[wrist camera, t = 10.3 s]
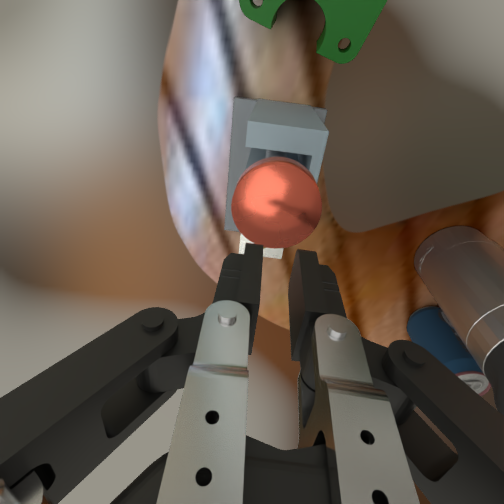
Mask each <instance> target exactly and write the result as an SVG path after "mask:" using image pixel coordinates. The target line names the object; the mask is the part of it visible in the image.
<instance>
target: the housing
mask: <svg viewBox="0 0 504 504" xmlns="http://www.w3.org/2000/svg"><path fill="white" fill-rule="evenodd" d="M246 243H253V242H251V241H249V240H248V239H247V238H245V237H244V236H243V235H242V234H241V237H240V247H239V254H244V251H245V245H246ZM282 253H283V248H276V249H274V248H266V247H264V248H263V257H270V258H278V259H281V258H282Z"/></svg>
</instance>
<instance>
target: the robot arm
mask: <svg viewBox="0 0 504 504" xmlns="http://www.w3.org/2000/svg"><path fill="white" fill-rule="evenodd" d="M263 248H264V245H261V244H254V243H246V245H245V251H244V255H243V254H235V253H231V254H229V255H228V256H227V257H226V258H225V259H224V261H223V265H222V270H221V273H220V277H219V281H218V285H217V288H216V292H215V297H214V300H213V303H212V304H211V305H210V306H209V307H208V308H207V310H206V311H205V313H203V314H201V315H199V316H196V317H191V318H184V319H177V317H176V315H175V314H174V313H173V312H172V311H170V310H168V309H165V308H159V307H155V308H154V307H153V308H148V309H144V310H142V311H140V312H138V313H136V314H135V315H133V316H132V317H130V318H128V319H127V320H125V321H124V322H122V323H120V324H119V325H117V326H115V327H114V328H112V329H110V330H109V331H107V332H106V333H104V334H103V335H101V336H99V337H98V338H96V339H94V340H93V341H91V342H90V343H88V344H86V345H85V346H83V347H82V348H80V349H78V350H77V351H75V352H74V353H72V354H71V355H69V356H67V357H66V358H64V359H62V360H61V361H59V362H57V363H56V364H54V365H53V366H51V367H49V368H48V369H46V370H45V371H43V372H42V373H40V374H38V375H37V376H35V377H33V378H32V379H30V380H29V381H27V382H25V383H24V384H22V385H21V386H19V387H17V388H16V389H14V390H13V391H11V392H9V393H8V394H6V395H4V396H3V397H1V398H0V504H58V503H59V502H60V501H61V500H62V499H63V498H64V497H65V496H66V495H67V494H68V493H69V492H70V491H72V489H74V488H75V487H76V486H77V485H78V484H79V483H80V482H81V481H82V480H83V479H84V478H85V477H86V476H87V475H88V474H89V473H91V472H92V471H93V470H94V469H95V468H96V467H97V466H98V465H99V464H100V463H101V462H102V461H103V460H104V459H106V458H107V457H108V456H109V455H110V454H111V453H112V452H113V451H114V450H115V449H116V448H117V447H118V446H119V445H120V444H121V443H122V442H124V440H126V439H127V438H128V437H129V436H130V435H131V434H132V433H133V432H134V431H135V430H136V429H137V428H138V427H139V426H141V424H143V423H144V422H145V421H146V420H147V419H148V418H149V417H150V416H151V415H152V414H153V413H154V412H155V411H156V410H158V409H159V408H160V407H161V405H163V404H164V403H165V402H166V401H167V400H168V399H169V398H170V397H171V396H172V395H173V394H174V393H175V392H176V390H177V389H181V388H184V390H183V395H182V399H181V403H180V407H179V412H178V415H177V420H176V424H175V428H174V432H173V437H172V441H171V445H170V449H169V452H168V453H166V454H164V455H162V456H161V457H160V458H159V459H157V460H156V461H154V462H153V463H152V464H151V465H150V466H149V467H148V468H146V469H145V470H144V471H143V472H142V473H141V474H140V475H139V476H138V477H137V478H136V479H135V480H134V481H133V482H132V483H131V484H130V485H129V486H128V487H127V488H126V489H125V490H124V491H123V492H122V493H121V494H120V495H118V496H117V497H116V498H115V499H114V500H113V501H112V502H111V503H110V504H420V503H419V500H418V497H417V493H416V490H415V486H414V483H413V481H414V482H415V483H416V485H417V486H418V487H419V489H420V490H421V491H422V492H423V494H424V495H425V496H426V497H427V499H428V500H429V501H430V502H431V503H432V504H504V249H503V248H502V247H500V246H499V245H498V244H497V243H496V242H495V241H493V240H489V239H488V238H487V237H486V236H485V235H483V234H482V233H481V232H480V231H478V230H477V229H474V228H471V227H467V226H454V227H449V228H445V229H443V230H440V231H438V232H436V233H434V234H433V235H431V236H430V237H428V238H427V239H426V240H425V241H424V242H423V243H422V244H421V245H420V247H419V248H418V250H417V252H416V255H415V258H414V265H415V269H416V271H417V273H418V274H419V276H420V277H421V279H422V280H423V282H424V283H425V285H426V286H427V288H428V290H429V291H430V293H431V294H432V296H433V297H434V299H435V300H436V302H437V303H438V305H439V306H440V308H441V310H442V311H443V313H444V314H445V316H446V317H447V319H448V320H449V322H450V323H451V325H452V326H453V328H454V329H455V331H456V332H457V334H458V335H459V337H460V339H461V340H462V342H463V343H464V345H465V346H466V348H467V349H468V351H469V352H470V354H471V355H472V357H473V358H474V360H475V361H476V363H477V364H478V366H479V367H480V369H481V370H482V372H483V373H484V375H485V376H486V378H487V380H488V381H489V383H490V384H491V386H492V388H493V392H494V400H495V404H496V408H497V410H498V411H497V410H496V409H495V408H494V407H492V406H491V405H490V404H489V403H488V402H487V401H485V400H484V399H483V398H482V397H481V396H480V395H478V394H477V393H476V392H475V391H474V390H473V389H472V388H470V387H469V386H468V385H467V384H466V383H465V382H463V381H462V380H461V379H460V378H459V377H458V376H456V375H455V374H454V373H453V372H452V371H451V370H449V369H448V368H447V367H446V366H445V365H444V364H442V363H441V362H440V361H439V360H438V359H437V358H436V357H434V356H433V355H432V354H431V353H430V352H429V351H427V350H426V349H425V348H423V347H422V346H420V345H418V344H416V343H413V342H411V341H406V340H396V341H394V342H392V343H391V344H390V345H389V347H388V348H387V347H384V346H382V345H379V344H376V343H374V342H371V341H369V340H366V339H365V338H363V337H361V336H360V332H359V330H358V328H357V327H356V326H355V324H353V323H352V322H351V321H350V320H348V319H347V317H346V313H345V309H344V306H343V302H342V298H341V294H340V292H339V287H338V285H337V280H336V276H335V274H334V272H333V271H332V270H331V269H330V268H329V267H328V266H327V265H319V263H318V258H317V253H316V252H315V251H307V250H299V249H297V251H296V255H295V259H294V264H293V268H292V273H291V277H290V282H289V290H288V299H289V319H290V338H291V359H292V360H294V361H300V366H301V370H300V374H299V377H298V412H299V442H298V447H297V449H293V450H280V449H277V448H275V447H272V446H270V445H268V444H265V443H263V442H260V441H258V440H256V439H253V438H251V437H249V436H246V420H247V399H248V398H247V397H248V370H247V363H248V355H251V353H252V347H253V341H254V335H255V329H256V323H257V317H258V311H259V305H260V291H261V277H262V262H263ZM416 406H417V407H418V408H419V409H420V410H421V411H422V412H423V413H424V414H425V415H426V416H427V417H428V418H429V419H430V420H431V421H432V422H433V423H434V424H435V425H436V426H437V427H438V429H440V431H441V432H442V433H443V434H444V435H445V436H446V437H447V438H448V439H449V440H450V441H451V442H452V443H453V445H454V446H455V448H456V450H457V452H458V455H457V454H456V453H454V452H453V451H452V450H451V449H450V448H449V447H448V446H447V445H446V444H445V443H444V442H443V441H442V439H441V438H439V436H438V435H437V434H436V433H435V432H434V431H433V430H432V429H431V428H430V427H429V426H428V425H427V424H426V423H425V421H424V420H423V419H422V418H421V417H420V416H419V415H418V414H417V413H416V412H415V411H414V409H415V408H416Z"/></svg>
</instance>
